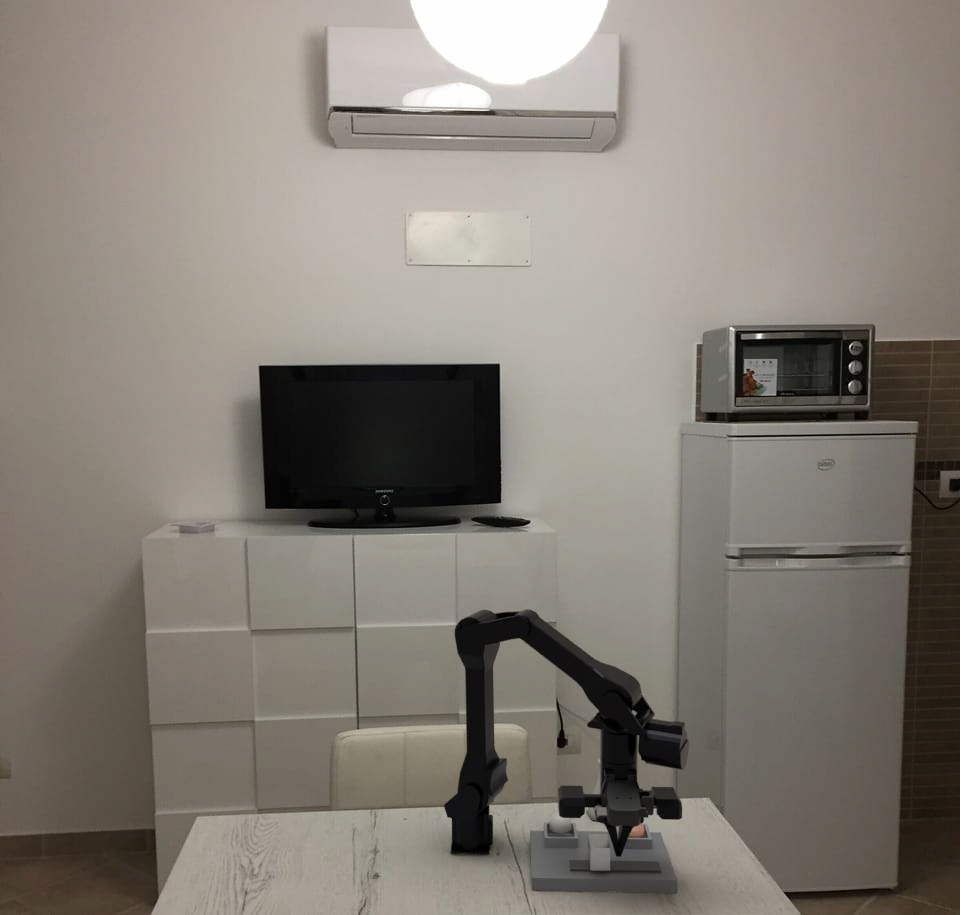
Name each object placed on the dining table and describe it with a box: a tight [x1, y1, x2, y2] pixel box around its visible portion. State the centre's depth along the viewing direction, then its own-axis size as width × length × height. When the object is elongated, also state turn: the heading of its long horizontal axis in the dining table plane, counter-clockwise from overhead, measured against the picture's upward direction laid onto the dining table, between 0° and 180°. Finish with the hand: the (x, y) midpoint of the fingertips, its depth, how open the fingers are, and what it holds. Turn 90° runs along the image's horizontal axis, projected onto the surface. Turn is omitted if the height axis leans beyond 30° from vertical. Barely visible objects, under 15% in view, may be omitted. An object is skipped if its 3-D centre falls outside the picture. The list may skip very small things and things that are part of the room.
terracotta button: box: [628, 823, 644, 838], centre depth 144 cm, size 4×4×2 cm
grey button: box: [549, 810, 572, 833], centre depth 145 cm, size 4×4×2 cm
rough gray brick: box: [588, 834, 610, 871], centre depth 136 cm, size 3×4×4 cm
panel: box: [529, 821, 678, 894], centre depth 140 cm, size 22×15×4 cm
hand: (618, 855), depth 136 cm, fingers closed
